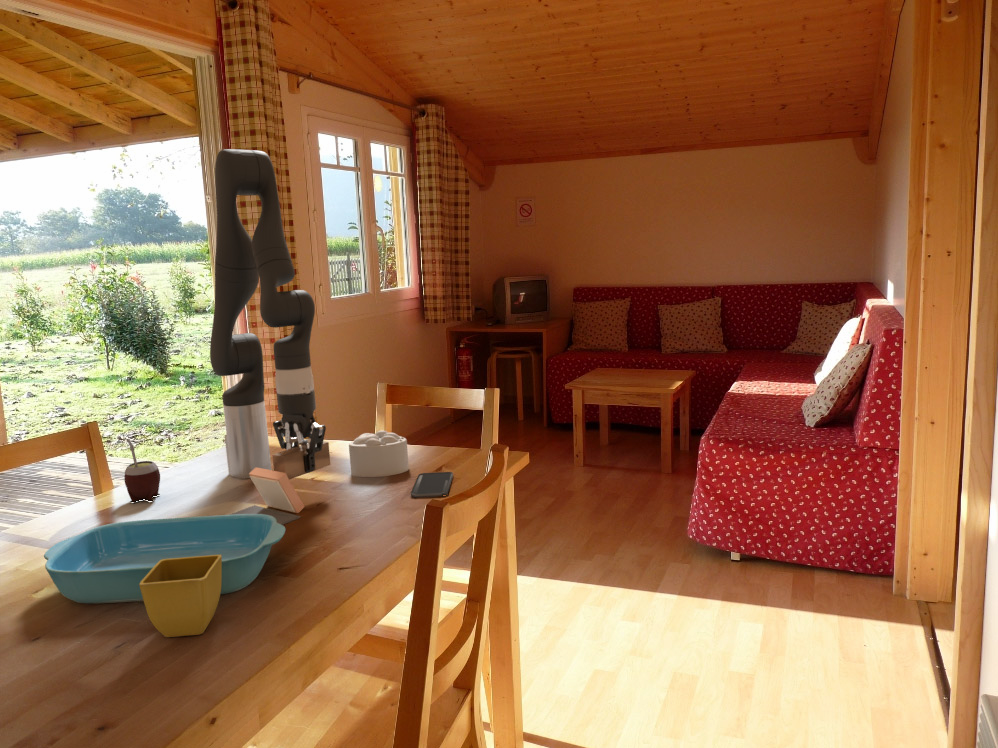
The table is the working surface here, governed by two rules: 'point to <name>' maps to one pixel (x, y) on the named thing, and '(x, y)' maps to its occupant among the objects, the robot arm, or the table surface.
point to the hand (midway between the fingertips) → (303, 470)
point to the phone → (432, 484)
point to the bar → (299, 460)
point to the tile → (276, 490)
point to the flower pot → (182, 594)
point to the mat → (280, 516)
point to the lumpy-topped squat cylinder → (378, 455)
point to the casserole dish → (158, 553)
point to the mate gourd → (141, 479)
